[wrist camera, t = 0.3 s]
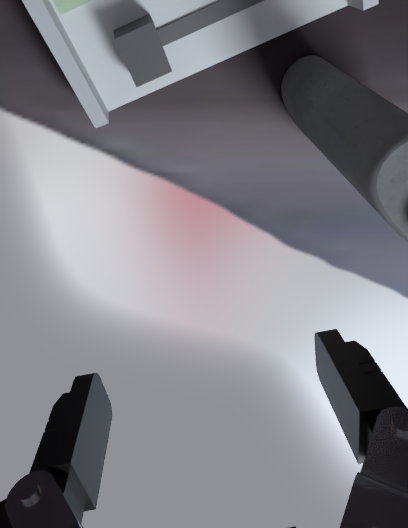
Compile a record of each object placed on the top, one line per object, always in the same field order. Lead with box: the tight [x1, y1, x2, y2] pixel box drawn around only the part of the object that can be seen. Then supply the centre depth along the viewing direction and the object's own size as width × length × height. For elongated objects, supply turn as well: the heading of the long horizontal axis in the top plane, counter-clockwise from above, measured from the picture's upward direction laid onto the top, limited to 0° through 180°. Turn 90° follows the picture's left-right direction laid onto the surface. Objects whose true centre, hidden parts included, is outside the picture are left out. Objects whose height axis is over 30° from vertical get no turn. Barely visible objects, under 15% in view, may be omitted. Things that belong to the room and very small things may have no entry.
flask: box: [281, 55, 408, 242], centre depth 33 cm, size 15×6×20 cm, turn 49°
